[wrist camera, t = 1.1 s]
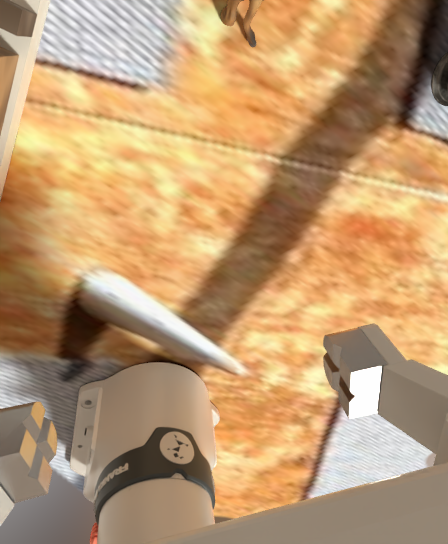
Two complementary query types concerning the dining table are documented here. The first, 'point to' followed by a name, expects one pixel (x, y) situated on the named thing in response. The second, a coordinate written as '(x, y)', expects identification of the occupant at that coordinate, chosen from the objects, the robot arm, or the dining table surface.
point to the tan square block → (6, 79)
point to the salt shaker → (441, 81)
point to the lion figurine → (231, 13)
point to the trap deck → (19, 79)
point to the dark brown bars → (16, 19)
